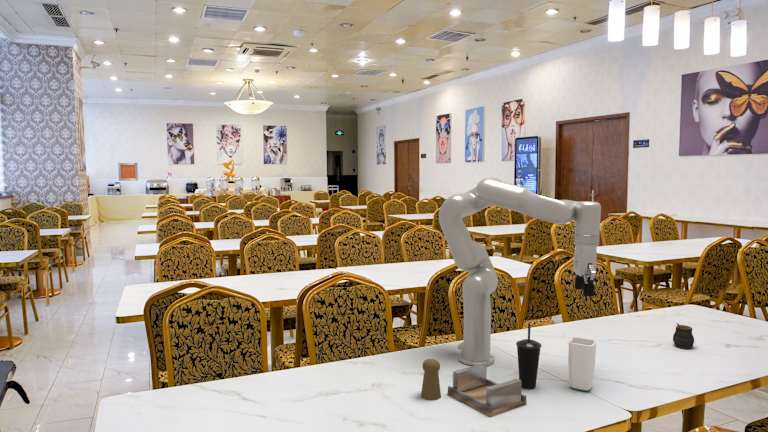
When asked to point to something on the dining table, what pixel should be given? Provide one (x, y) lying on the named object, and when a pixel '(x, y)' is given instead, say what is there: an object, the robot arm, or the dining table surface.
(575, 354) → the cup
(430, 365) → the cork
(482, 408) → the base
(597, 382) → the dining table surface
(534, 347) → the drinking cup
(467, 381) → the sliding jaw
